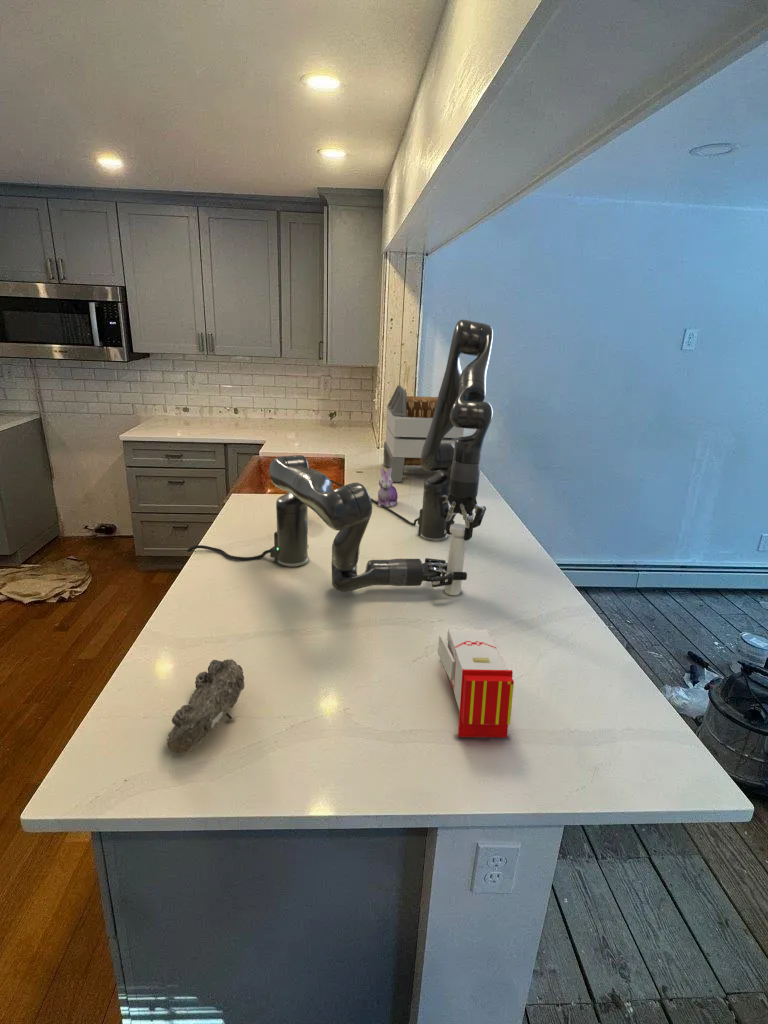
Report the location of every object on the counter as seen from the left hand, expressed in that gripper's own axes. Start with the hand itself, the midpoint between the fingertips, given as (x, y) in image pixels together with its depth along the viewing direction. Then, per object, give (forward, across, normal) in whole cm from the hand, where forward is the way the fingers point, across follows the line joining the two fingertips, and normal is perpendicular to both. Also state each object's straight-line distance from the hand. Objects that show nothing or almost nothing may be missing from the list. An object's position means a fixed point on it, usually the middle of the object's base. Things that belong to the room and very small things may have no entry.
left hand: (464, 571), depth 159 cm
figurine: (-13, +75, +6) cm, 77 cm away
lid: (-3, 0, -13) cm, 14 cm away
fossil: (-60, -49, +6) cm, 78 cm away
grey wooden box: (+8, +121, +6) cm, 122 cm away
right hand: (-3, 0, -11) cm, 11 cm away
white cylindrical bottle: (-3, 0, +6) cm, 7 cm away
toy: (-9, -44, +6) cm, 45 cm away
